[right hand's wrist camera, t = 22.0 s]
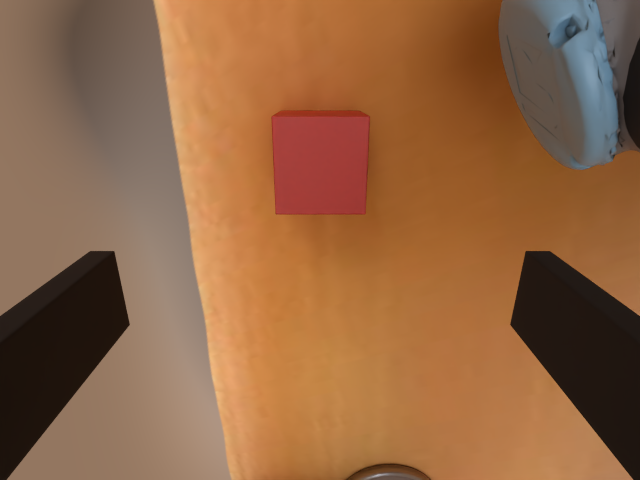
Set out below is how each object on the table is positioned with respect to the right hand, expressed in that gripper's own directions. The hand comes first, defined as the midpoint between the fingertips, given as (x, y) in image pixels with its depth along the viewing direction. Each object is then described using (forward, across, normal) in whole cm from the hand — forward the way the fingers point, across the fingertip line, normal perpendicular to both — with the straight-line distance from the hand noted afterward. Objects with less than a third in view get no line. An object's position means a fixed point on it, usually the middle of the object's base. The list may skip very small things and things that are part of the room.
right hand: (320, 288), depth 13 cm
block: (+30, 0, 0) cm, 30 cm away
